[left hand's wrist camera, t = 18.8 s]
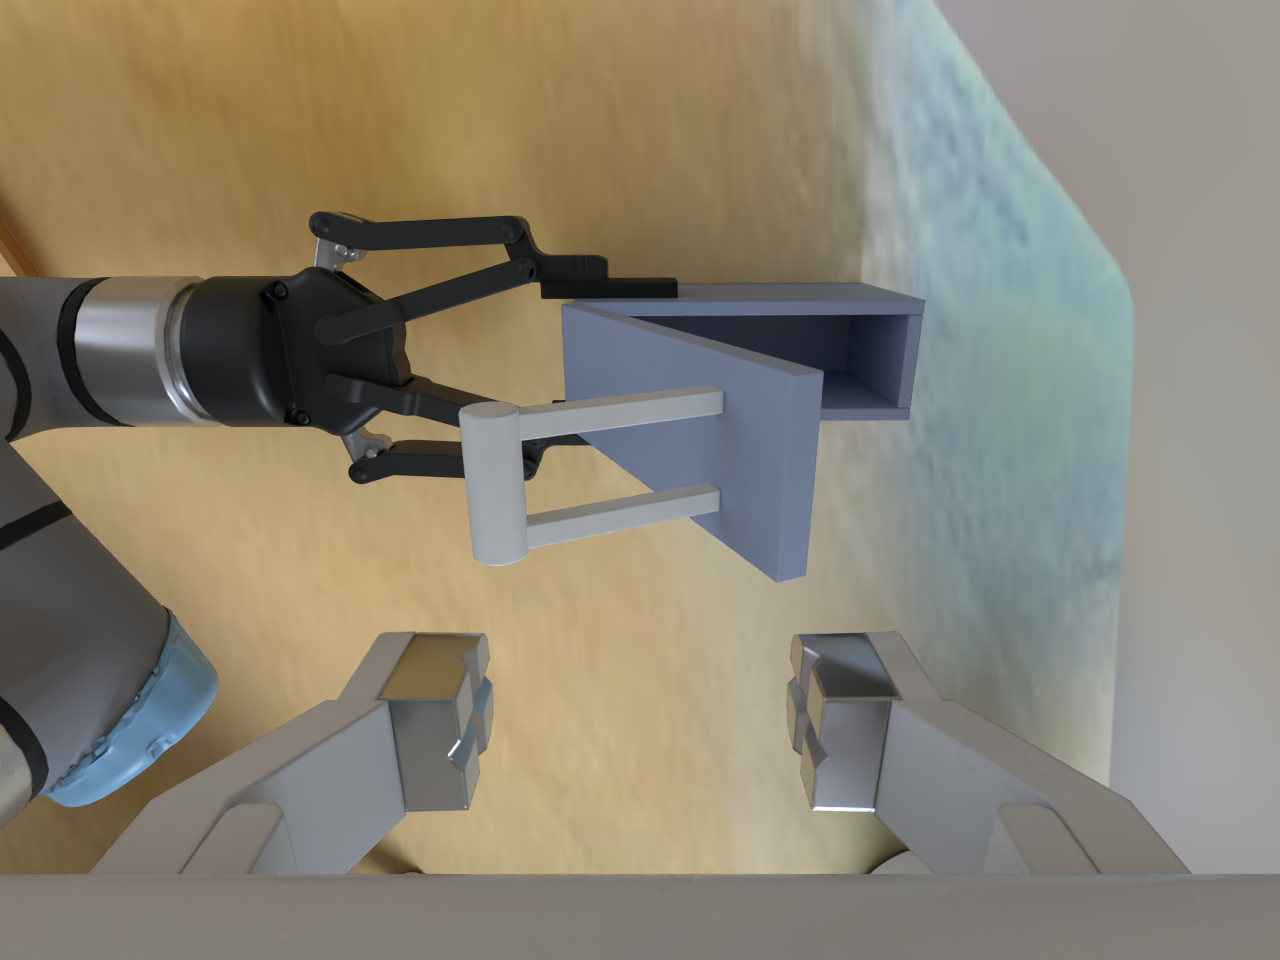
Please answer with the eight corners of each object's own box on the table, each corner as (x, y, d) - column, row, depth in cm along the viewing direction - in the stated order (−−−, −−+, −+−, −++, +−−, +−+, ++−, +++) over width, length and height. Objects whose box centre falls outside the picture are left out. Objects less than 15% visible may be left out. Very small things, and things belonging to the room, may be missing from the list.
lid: (824, 370, 17) (488, 409, 13) (806, 576, 19) (509, 653, 15) (581, 303, 31) (388, 313, 28) (585, 424, 33) (406, 447, 30)
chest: (861, 282, 40) (925, 300, 31) (851, 378, 42) (909, 420, 33) (587, 284, 40) (572, 302, 31) (590, 379, 42) (576, 422, 33)
